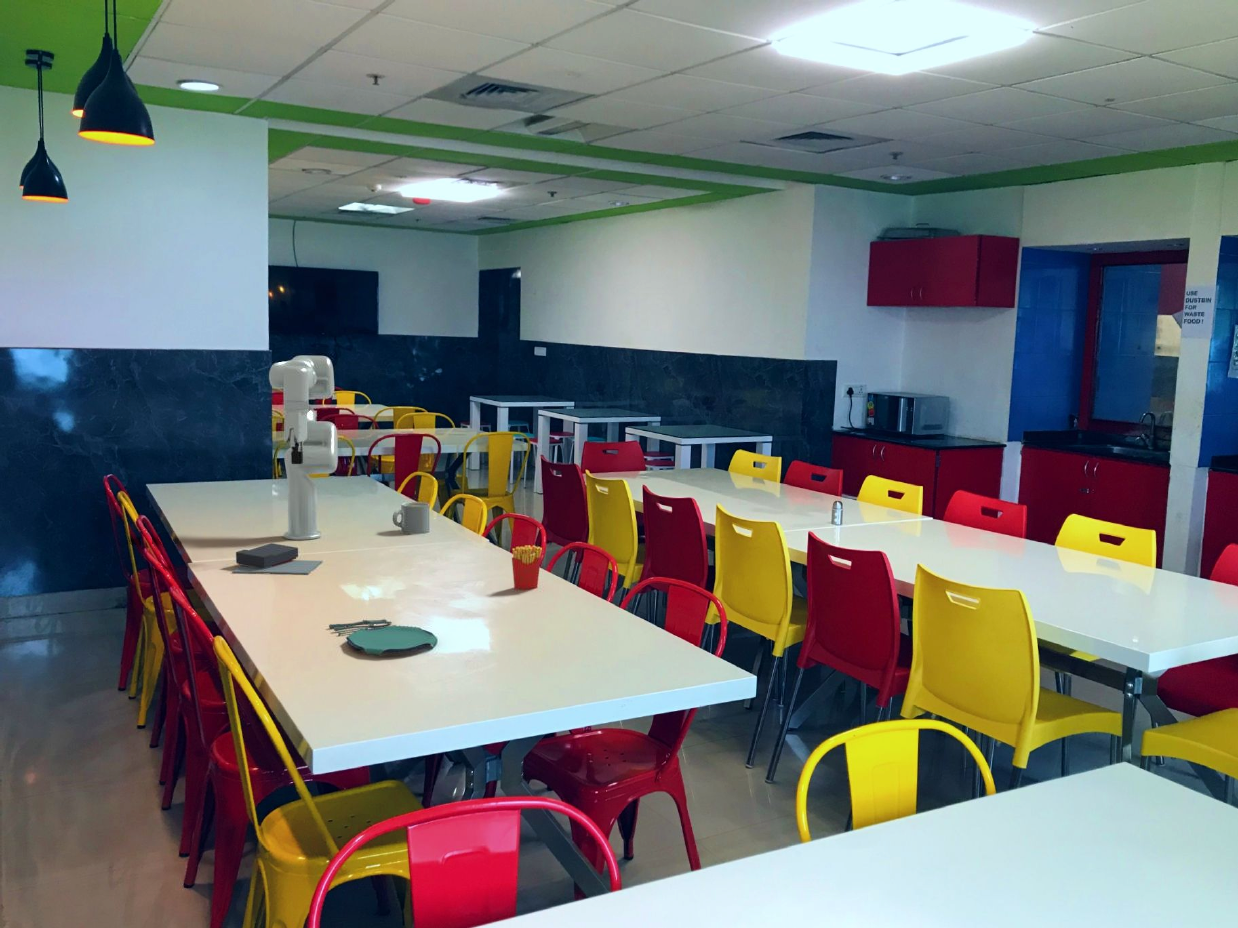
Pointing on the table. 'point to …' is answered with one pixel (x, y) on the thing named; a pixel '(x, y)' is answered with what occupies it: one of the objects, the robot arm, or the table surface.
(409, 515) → the coffee mug
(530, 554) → the french fries
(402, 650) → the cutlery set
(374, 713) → the table surface
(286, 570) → the mat
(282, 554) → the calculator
